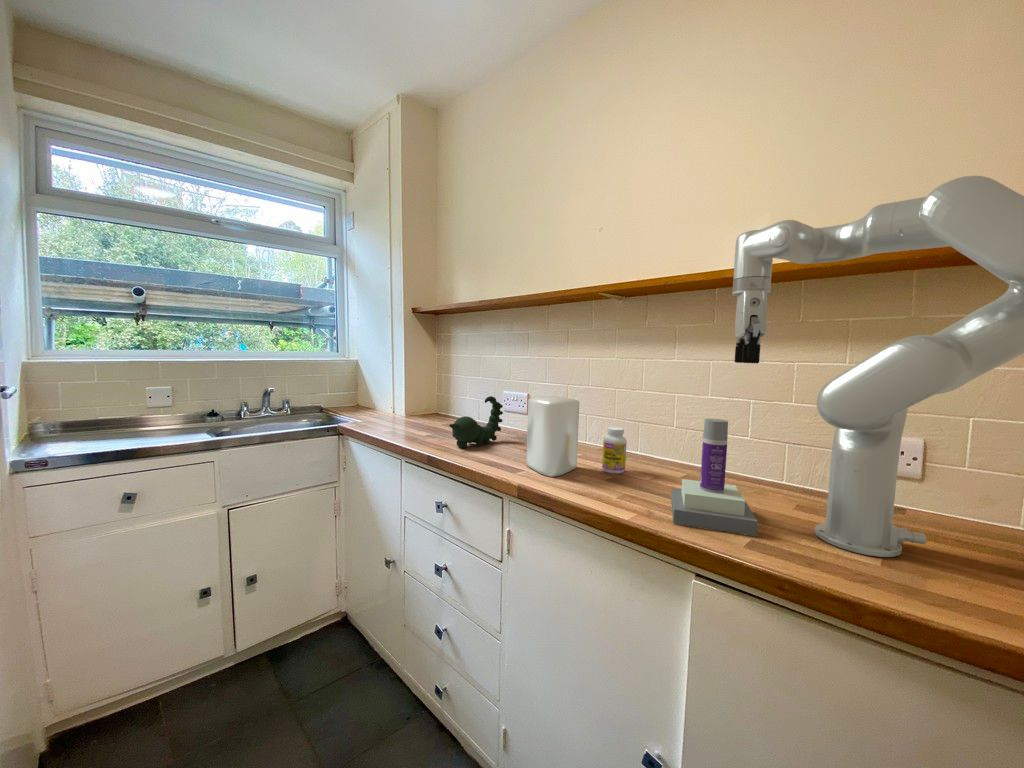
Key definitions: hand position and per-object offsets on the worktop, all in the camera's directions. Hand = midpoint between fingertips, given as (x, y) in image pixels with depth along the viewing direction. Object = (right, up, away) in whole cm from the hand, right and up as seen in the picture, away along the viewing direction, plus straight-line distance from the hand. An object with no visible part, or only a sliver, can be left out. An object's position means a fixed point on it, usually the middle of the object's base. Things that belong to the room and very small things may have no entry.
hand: (746, 362), depth 95 cm
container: (-11, -28, -7) cm, 31 cm away
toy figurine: (-68, -28, +57) cm, 92 cm away
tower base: (-11, -34, -6) cm, 36 cm away
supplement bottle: (-24, -31, +27) cm, 48 cm away
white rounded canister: (-43, -31, +25) cm, 58 cm away
